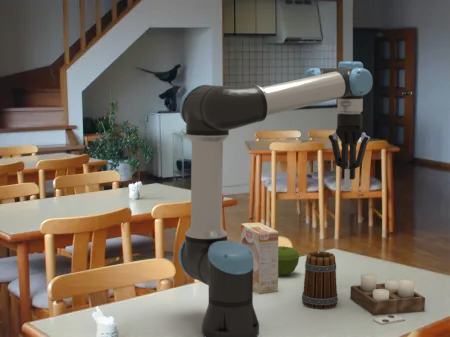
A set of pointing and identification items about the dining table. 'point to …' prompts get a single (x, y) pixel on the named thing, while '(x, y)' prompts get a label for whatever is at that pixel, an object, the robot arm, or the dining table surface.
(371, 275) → the button
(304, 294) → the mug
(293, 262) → the apple
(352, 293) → the wooden compartment tray
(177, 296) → the dining table surface
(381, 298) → the button
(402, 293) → the button
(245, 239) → the coffeecake box
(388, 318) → the card
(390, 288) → the button
